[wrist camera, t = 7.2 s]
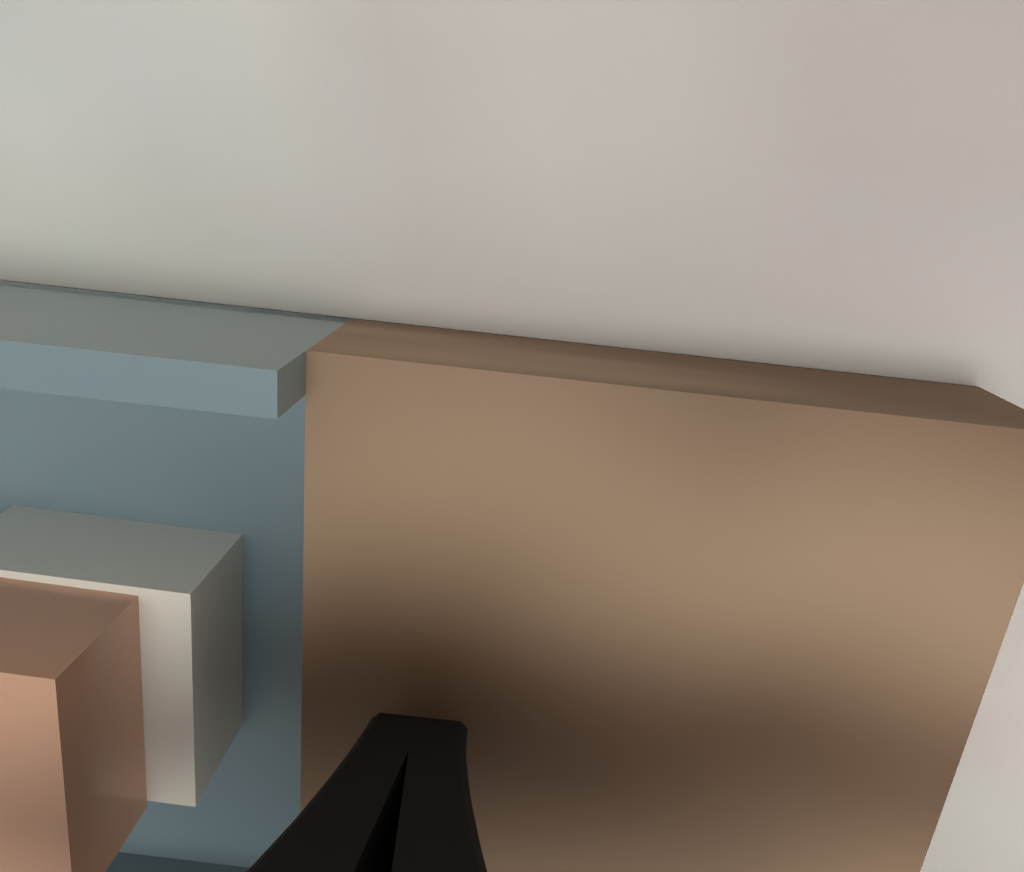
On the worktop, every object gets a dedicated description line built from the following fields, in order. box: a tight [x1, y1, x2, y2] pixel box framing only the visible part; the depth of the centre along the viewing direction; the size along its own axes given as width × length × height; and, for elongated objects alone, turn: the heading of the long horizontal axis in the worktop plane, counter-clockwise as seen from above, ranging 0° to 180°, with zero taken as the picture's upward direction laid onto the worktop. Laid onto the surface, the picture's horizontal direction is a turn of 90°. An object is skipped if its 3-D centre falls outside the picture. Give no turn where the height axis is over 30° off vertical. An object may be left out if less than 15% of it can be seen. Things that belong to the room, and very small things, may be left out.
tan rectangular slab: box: [300, 319, 1024, 872], centre depth 13 cm, size 12×10×2 cm
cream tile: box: [0, 505, 243, 807], centre depth 13 cm, size 4×4×2 cm
